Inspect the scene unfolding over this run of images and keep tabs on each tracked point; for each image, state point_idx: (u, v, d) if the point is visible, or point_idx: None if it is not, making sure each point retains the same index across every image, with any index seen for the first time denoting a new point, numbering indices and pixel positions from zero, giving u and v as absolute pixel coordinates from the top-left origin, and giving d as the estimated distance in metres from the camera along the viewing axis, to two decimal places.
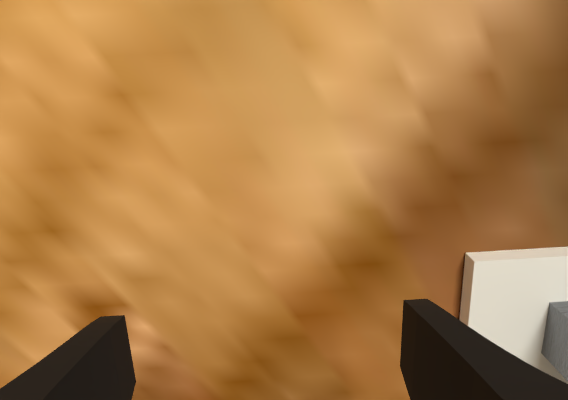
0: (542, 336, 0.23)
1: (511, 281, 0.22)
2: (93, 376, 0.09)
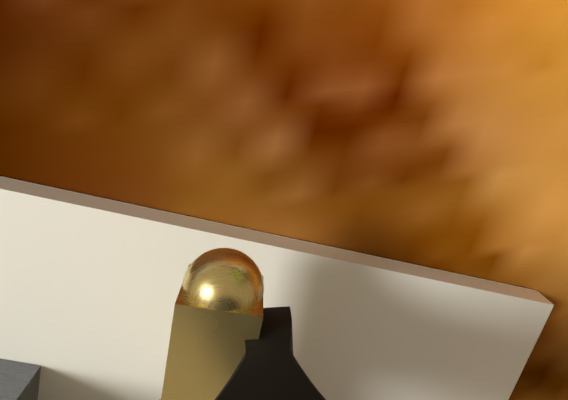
0: None
1: None
2: None
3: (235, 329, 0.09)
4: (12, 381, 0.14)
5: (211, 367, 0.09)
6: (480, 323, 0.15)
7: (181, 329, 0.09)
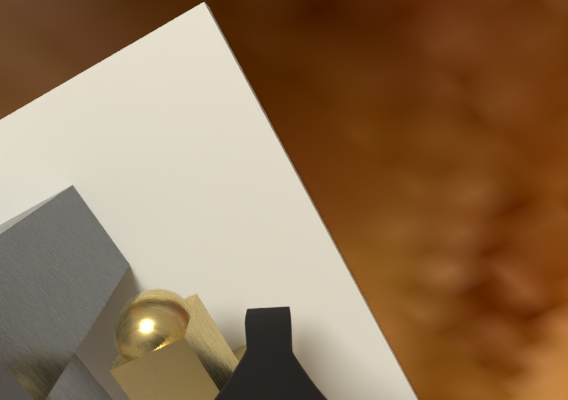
0: None
1: None
2: None
3: (172, 361, 0.09)
4: (112, 265, 0.13)
5: None
6: None
7: (132, 386, 0.10)
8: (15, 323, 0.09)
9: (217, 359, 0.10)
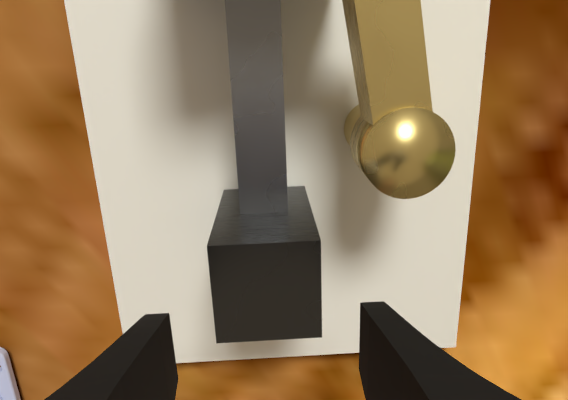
0: None
1: None
2: (146, 373, 0.09)
3: None
4: None
5: (393, 29, 0.12)
6: (434, 308, 0.21)
7: (362, 4, 0.12)
8: None
9: None
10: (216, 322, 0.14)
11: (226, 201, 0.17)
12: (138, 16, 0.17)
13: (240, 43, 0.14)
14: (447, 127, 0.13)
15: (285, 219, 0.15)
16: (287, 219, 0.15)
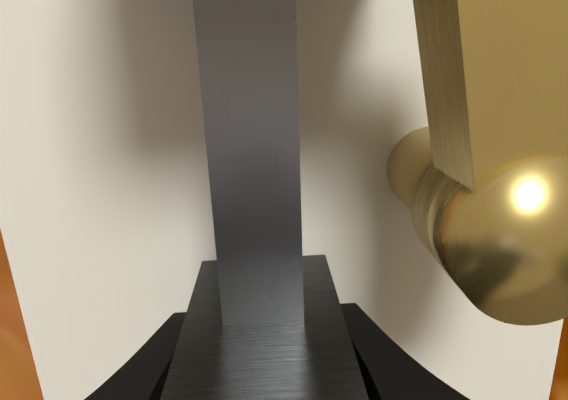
0: None
1: None
2: None
3: None
4: None
5: (529, 2, 0.06)
6: None
7: None
8: None
9: None
10: None
11: (202, 290, 0.11)
12: None
13: (218, 34, 0.07)
14: None
15: (300, 343, 0.09)
16: (304, 343, 0.09)
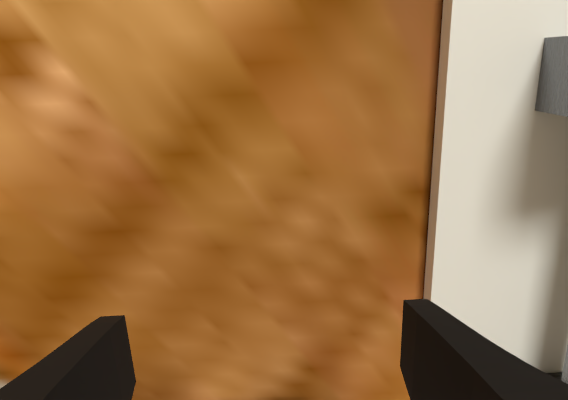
0: (536, 86, 0.19)
1: (499, 5, 0.18)
2: (93, 376, 0.09)
3: None
4: None
5: None
6: None
7: None
8: None
9: None
10: None
11: None
12: (501, 133, 0.20)
13: None
14: None
15: None
16: None
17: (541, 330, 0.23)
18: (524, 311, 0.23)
